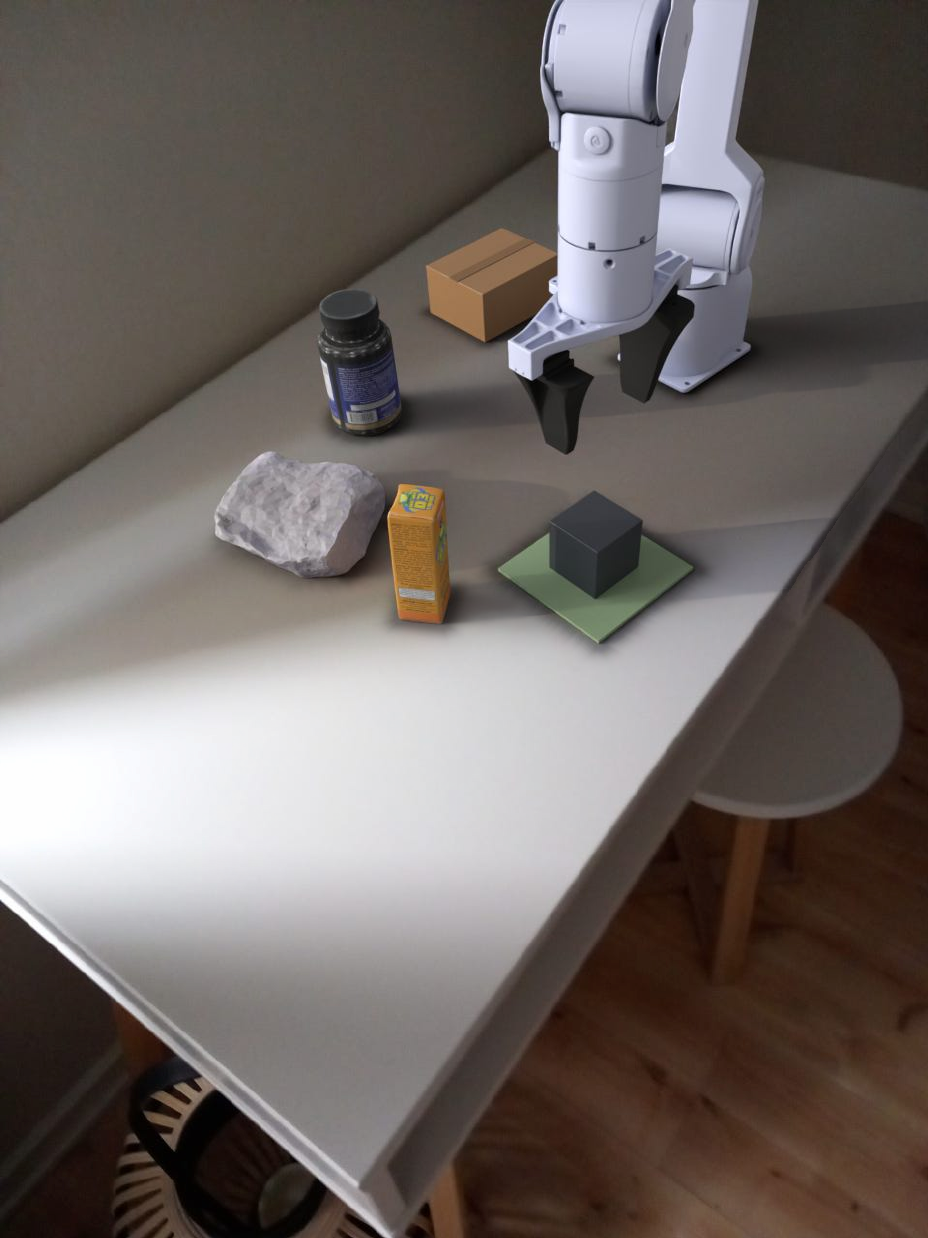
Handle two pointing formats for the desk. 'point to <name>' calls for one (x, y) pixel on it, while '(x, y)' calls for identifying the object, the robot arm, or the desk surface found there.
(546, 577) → the mat
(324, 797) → the desk surface
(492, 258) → the storage box
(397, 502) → the supplement box
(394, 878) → the desk surface
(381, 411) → the pill bottle
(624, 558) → the small box
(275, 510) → the stone block
